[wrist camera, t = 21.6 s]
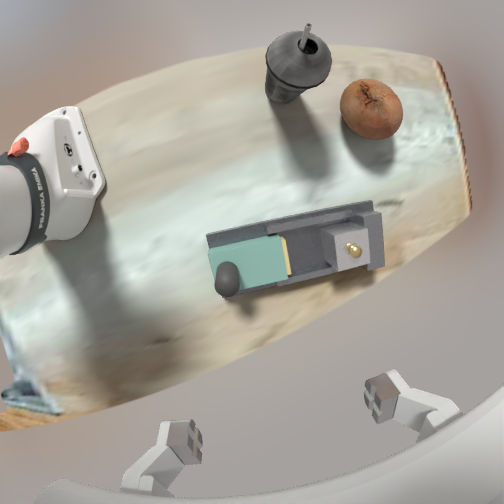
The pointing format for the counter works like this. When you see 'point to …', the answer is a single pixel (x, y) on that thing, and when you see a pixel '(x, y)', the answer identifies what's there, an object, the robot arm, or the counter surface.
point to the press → (309, 239)
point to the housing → (345, 245)
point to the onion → (371, 109)
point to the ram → (249, 264)
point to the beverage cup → (295, 65)
